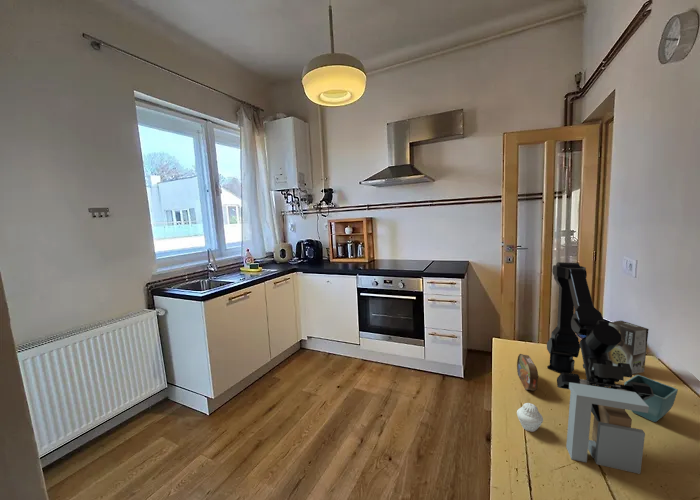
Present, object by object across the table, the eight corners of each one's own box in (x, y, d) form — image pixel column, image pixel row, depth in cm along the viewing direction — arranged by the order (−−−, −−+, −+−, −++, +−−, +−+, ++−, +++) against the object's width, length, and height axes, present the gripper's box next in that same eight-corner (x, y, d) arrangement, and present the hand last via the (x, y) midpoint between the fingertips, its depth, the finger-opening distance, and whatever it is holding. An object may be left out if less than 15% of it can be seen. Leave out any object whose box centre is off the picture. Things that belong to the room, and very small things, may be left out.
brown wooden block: (591, 437, 79) (596, 394, 77) (610, 441, 78) (615, 398, 76) (604, 461, 72) (609, 415, 70) (626, 466, 70) (631, 419, 69)
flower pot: (661, 430, 81) (665, 398, 80) (620, 411, 89) (623, 382, 88) (674, 418, 85) (678, 389, 84) (634, 401, 93) (637, 374, 92)
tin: (515, 371, 112) (516, 349, 111) (525, 372, 111) (526, 350, 110) (527, 395, 98) (529, 370, 96) (538, 396, 97) (540, 371, 96)
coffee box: (645, 372, 109) (650, 328, 107) (631, 374, 108) (636, 331, 105) (617, 360, 118) (621, 319, 116) (604, 362, 116) (608, 321, 114)
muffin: (514, 418, 87) (515, 395, 86) (538, 422, 85) (540, 399, 84) (518, 433, 81) (520, 409, 80) (545, 438, 79) (546, 413, 78)
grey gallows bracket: (564, 442, 78) (569, 382, 76) (629, 456, 73) (636, 392, 71) (571, 459, 73) (576, 395, 70) (641, 475, 68) (650, 406, 66)
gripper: (562, 343, 80) (573, 408, 71) (654, 353, 74) (678, 426, 65) (552, 357, 89) (561, 417, 80) (634, 368, 82) (652, 434, 73)
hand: (609, 423), depth 74 cm, fingers closed on brown wooden block, 4 cm apart
